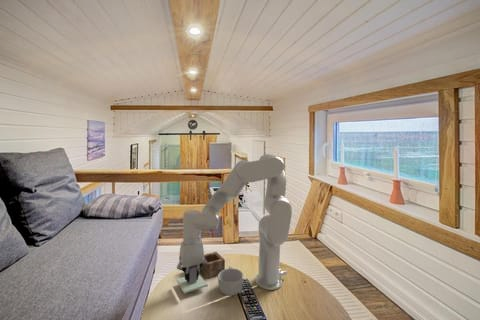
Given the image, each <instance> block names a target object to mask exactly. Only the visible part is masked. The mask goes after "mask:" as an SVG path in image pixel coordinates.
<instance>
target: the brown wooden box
mask: <svg viewBox="0 0 480 320" xmlns="http://www.w3.org/2000/svg"><path fill="white" fill-rule="evenodd" d="M204 258H205V259H206V263H204V264H203V265H202V267H201V268H200V270H199V273H201V274H202V275H203V276H204V278H205V279H206V280H207V279H211V278H215V277H218V274H219V273H220V272H221V271H222V270H225V269H226V259H225V258H224V257H223V256H221V254H220V253H218V252H217V251H214V252H209V253H206V254H205V253H204Z"/></svg>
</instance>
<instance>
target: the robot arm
mask: <svg viewBox="0 0 480 320" xmlns="http://www.w3.org/2000/svg"><path fill="white" fill-rule="evenodd" d="M234 165H235V166H234V167H233V168H232V169H231V171H230V172H229V174H228V175H227V176H226V178H225V180H224V181H223V183H222V184H221V185H220V187H219V188H217V189H216V191H215V192H214V193H213V194H212V195H211V196H210V198H209V199H208V201H207V202H206V203H205V205H204V206H203V208H202V210H201V211H200V210H196V209H189V210H186V211H185V212H183V220H182V222H183V223H182V226H183V227H182V229H183V230H182V232H183V233H182V234H183V235H182V236H183V237H182V241H181V243H180V248H179V255H178V263H177V265H176V269H177V270H178V271H182V272H183V273H184V277H185V280H187V282H189V275H190V274H189V267H190V266H193V265H195V266H196V267H197V280H198V276H199V274H200V268H201V267H202V265H203V264H204V263H206V259H205V258H204V255H205V251H204V249H205V248H204V244H203V243H204V242H203V240H202V239H203V238H205V236H204V235H205V234H202V230H207V231H208V230H209V231H210V230H212V231H213V230H216V229H217V228H218V227H219V225H220V217H219V213H220V212H221V210H223V208H224V206H225V205H226V204H227V203H229V202H230V201H232V200H235V199H237V198H238V196H239V195H240V193H241V192H242V191H243V189H244V187H245V186H246V184H247V183H249V184H250V183H256V182H260V181H264V180H266V191H265V198H264V203H263V207H264V209H265V211H266V212H267V213H268V214H266V215H264V216H262V217H261V218H260V220H259V222H258V238H259V240H258V241H259V242H258V243H259V244H258V246H259V247H258V248H259V249H258V274H257V275H256V276H255V277H254V282H255V283H256V286H257V287H258V288H260V289H263V290H267V291H275V290H278V289H280V288H281V287H282V286H283V278H282V277H283V276H286V275H287V272H288V271H287V270H282V269H281V268H280V262H281V261H280V260H281V259H280V258H281V257H280V255H281V246H282V245H283V244H285V242H286V241H287V239H288V236H289V233H290V232H289V231H290V227H291V222H292V221H291V220H292V213H293V210H292V204H291V203H290V201H289V200H288V199H287V198H286V197H285V196H286V188H287V187H286V186H287V176H286V172H285V163H284V160H283V159H282V158H281V157H279V156H277V155H273V154H267V153H266V154H263V155H261V156H260V157H259V159H257V160H252V161H251V160H250V161H249V160H244V159H242V160H239V161H238V162H237V163H236V164H234Z"/></svg>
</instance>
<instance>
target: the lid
mask: <svg viewBox="0 0 480 320" xmlns="http://www.w3.org/2000/svg"><path fill="white" fill-rule="evenodd" d="M189 274H190V275H189V282H187V280H185V276H183V277H182V276H181V277H178V278H176V279H175V280H176V283H177V284H178V286H179V287H180V289H181V291H182V293H183V294H188V293H189V292H190V293H191V292H193V291H196V290H200V289H204V288H206V287H208V283H207V282H206V281H205V280H204V278H203V277H202V276H201V274H200V273H199V276H198V280H197V267H196V266H195V265H193V266H190V267H189Z"/></svg>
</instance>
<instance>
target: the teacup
mask: <svg viewBox="0 0 480 320" xmlns="http://www.w3.org/2000/svg"><path fill="white" fill-rule="evenodd" d="M243 276H244V275H243V272H242V271H241V270H240V269H238V268H233V266H228V268H225V270H222V271H221V272H220V273H219V274H218V276H217V280H218V289H219V291H220V292H221V293H222V294H223V295H225V296H227V297H233V296H236V295H237V294H239V293H240V292H241V291H242V289H243V285H244V284H243V281H244V279H243V278H244V277H243Z"/></svg>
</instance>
